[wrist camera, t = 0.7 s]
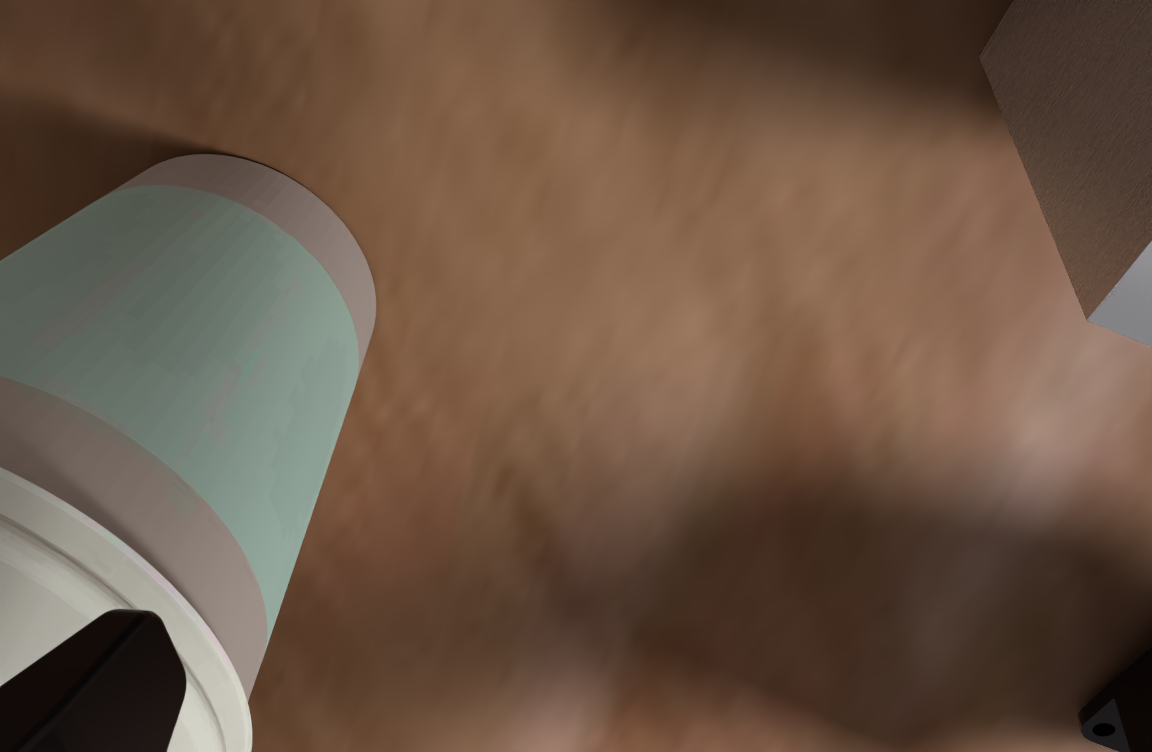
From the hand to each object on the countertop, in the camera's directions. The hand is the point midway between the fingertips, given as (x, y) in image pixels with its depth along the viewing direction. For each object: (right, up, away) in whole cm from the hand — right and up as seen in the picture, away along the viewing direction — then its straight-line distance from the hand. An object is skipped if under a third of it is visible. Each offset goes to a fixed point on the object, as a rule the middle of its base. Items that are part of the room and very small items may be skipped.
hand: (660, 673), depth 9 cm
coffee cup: (-8, +5, +14) cm, 17 cm away
